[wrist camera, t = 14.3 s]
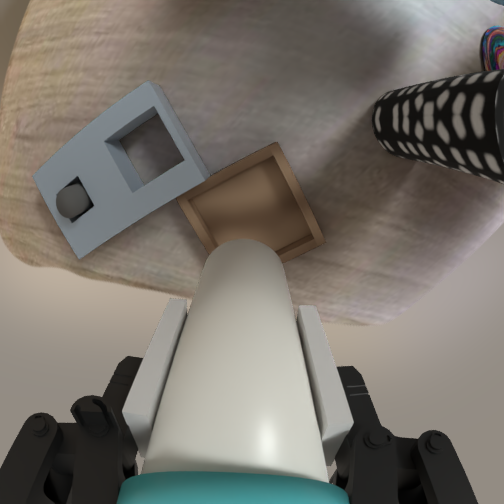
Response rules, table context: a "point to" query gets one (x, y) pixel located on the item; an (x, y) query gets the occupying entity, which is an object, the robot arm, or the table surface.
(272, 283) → the ball
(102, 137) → the housing
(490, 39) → the vase
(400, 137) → the spotted tube
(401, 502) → the robot arm
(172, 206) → the table surface
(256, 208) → the tray
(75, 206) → the plunger
